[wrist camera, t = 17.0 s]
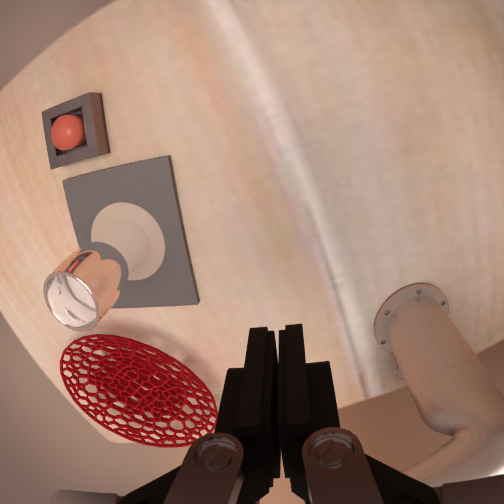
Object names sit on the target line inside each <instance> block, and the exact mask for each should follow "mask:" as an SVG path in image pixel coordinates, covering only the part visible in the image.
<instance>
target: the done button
mask: <svg viewBox="0 0 504 504" xmlns="http://www.w3.org/2000/svg"><path fill="white" fill-rule="evenodd" d="M51 139H52V142H53V144H54V145H55V147H56V148H58V149H60V150H68V149H72V148H77V147H81V146H82V145H84V144H85V143H86V142H87V139H86V133H85V126H84V120H83V115H80V114H75V115H63V116H60V117H59V118H58V119H56V121H55V122H54V124H53V126H52V129H51Z"/></svg>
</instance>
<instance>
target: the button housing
mask: <svg viewBox="0 0 504 504" xmlns="http://www.w3.org/2000/svg"><path fill="white" fill-rule="evenodd" d="M75 114H80V115H83V120H84V126H85V133H86V139H87V142H86V143H85V144H84V145H82V146H81V147H77V148H72V149H68V150H60V149H58V148H56V147H55V145H54V144H53V142H52V139H51V129H52V126H53V124H54V122H55V121H56V119H58V118H59V117H60V116H63V115H75ZM42 118H43V126H44V133H45V139H46V145H47V151H48V157H49V162H50V167H51V169H54V168H57V167H61V166H64V165H67V164H70V163H74V162H77V161H81V160H84V159H88V158H91V157H95V156H98V155H102V154H106V153H110V148H109V142H108V136H107V130H106V123H105V117H104V110H103V102H102V94H101V93H91V92H90V93H87V94H84V95H81V96H79V97H76V98H74V99H71V100H69V101H66V102H64V103H61V104H59V105H56V106H54V107H52V108H49V109H47V110H45V111H43V112H42Z"/></svg>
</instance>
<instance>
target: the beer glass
mask: <svg viewBox="0 0 504 504" xmlns="http://www.w3.org/2000/svg"><path fill="white" fill-rule="evenodd" d="M148 249H149V245H148V240H147V237H146V235H145V233H144V232H143V231H142V229H141V228H140V227H138V226H137V225H135V224H133V223H130V222H119V223H117V224H115V225H114V226H113V227H112V228H111V229H110V230H109V231H108V233H107V234H106V236H105V237H103V238H102V239H99V240H97V241H95V242H92V243H90V244H87V245H85V246H83V247H81V248H79V249H78V250H76V251H75V252H73V253H72V254H71V255H69V256H68V257H67V258H66V259H65V260H64V261H63V262H62V263H61V264H60V265H59V266H58V267H57V268H56V269H55V270H54V271H53V272H52V273H51V274H50V275H49V276H48V277H47V278H46V280H45V283H44V297H45V301H46V303H47V306H48V308H49V309H50V311H51V313H52V314H53V315H54V316H55V318H56V319H57V320H58V321H60V322H61V323H62V324H63V325H65V326H66V327H68V328H70V329H73V330H76V331H89V330H91V329H93V328H94V327H95V326H96V325H97V323H98V322H99V321H100V320H101V319H102V318H103V317H104V316H105V314H106V313H107V312H108V311H109V310H110V309H111V307H112V306H113V305H114V304H115V302H116V301H117V299H118V298H119V296H120V295H121V293H122V291H123V289H124V287H125V284H126V282H127V279H128V277H129V275H130V272H131V270H132V269H133V268H134V267H135V266H137V265H138V264H140V263H141V262H142V261H143V260H144V259H145V258H146V256H147V253H148Z"/></svg>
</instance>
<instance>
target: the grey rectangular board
mask: <svg viewBox="0 0 504 504" xmlns="http://www.w3.org/2000/svg"><path fill="white" fill-rule="evenodd" d="M62 182H63V187H64V191H65V195H66V200H67V204H68V208H69V212H70V216H71V219H72V223H73V227H74V230H75V234H76V237H77V241H78V244H79V248H81V247H83V246H85V245H87V244H90V243H92V242H95V241H97V240H99V239H102V238H103V237H105V236H106V234H107V233H108V231H109V230H110V229H111V228H112V227H113V226H114V225H115V224H117V223H119V222H130V223H133V224H135V225H137V226H138V227H140V228H141V229H142V231H143V232H144V233H145V235H146V237H147V240H148V245H149V249H148V253H147V256H146V258H145V259H144V260H143V261H142V262H141V263H140V264H138V265H137V266H135V267H134V268H133V269H132V270H131V272H130V275H129V277H128V279H127V282H126V284H125V287H124V289H123V291H122V293H121V295H120V296H119V298H118V299H117V301H116V302H115V304H114V305H113V306H112V307H111V308H140V307H162V306H181V305H198V304H199V301H200V300H199V296H198V291H197V287H196V283H195V278H194V274H193V269H192V265H191V260H190V256H189V251H188V246H187V241H186V237H185V232H184V227H183V222H182V217H181V212H180V206H179V201H178V196H177V191H176V185H175V179H174V174H173V168H172V162H171V156H170V155H169V156H164V157H159V158H154V159H149V160H144V161H139V162H134V163H130V164H125V165H121V166H117V167H112V168H108V169H104V170H100V171H96V172H92V173H88V174H84V175H80V176H77V177H73V178H69V179H66V180H63V181H62Z"/></svg>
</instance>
